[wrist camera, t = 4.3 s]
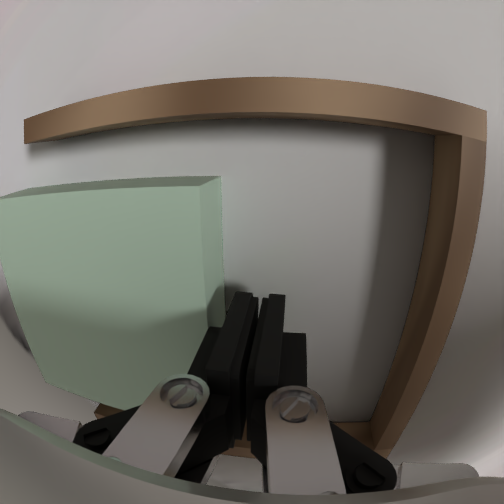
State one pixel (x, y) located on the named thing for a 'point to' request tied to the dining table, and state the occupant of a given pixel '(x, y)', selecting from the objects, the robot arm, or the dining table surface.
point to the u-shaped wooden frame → (352, 111)
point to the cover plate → (115, 280)
